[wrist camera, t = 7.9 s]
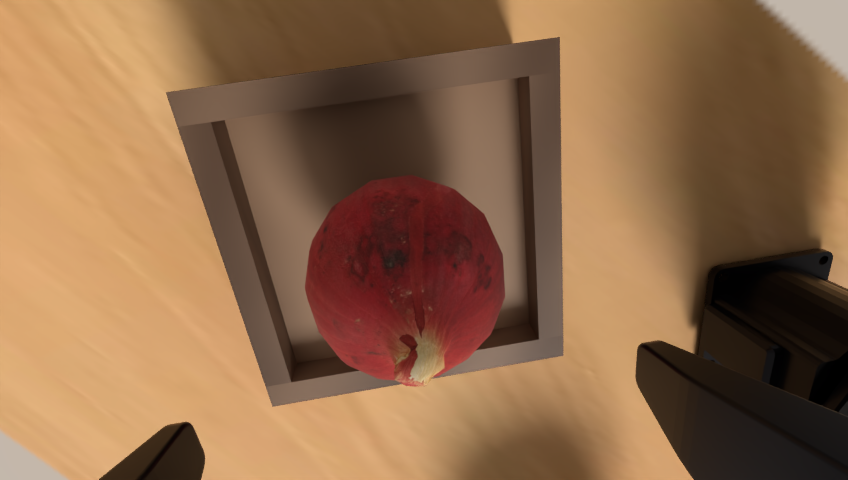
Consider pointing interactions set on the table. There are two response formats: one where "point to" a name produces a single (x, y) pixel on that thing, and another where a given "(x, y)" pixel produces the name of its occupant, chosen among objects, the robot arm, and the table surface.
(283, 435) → the table surface
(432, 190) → the onion
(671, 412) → the robot arm
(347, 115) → the walnut base
